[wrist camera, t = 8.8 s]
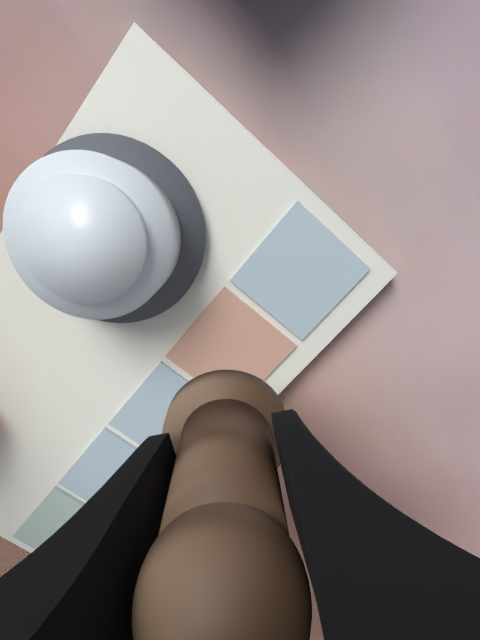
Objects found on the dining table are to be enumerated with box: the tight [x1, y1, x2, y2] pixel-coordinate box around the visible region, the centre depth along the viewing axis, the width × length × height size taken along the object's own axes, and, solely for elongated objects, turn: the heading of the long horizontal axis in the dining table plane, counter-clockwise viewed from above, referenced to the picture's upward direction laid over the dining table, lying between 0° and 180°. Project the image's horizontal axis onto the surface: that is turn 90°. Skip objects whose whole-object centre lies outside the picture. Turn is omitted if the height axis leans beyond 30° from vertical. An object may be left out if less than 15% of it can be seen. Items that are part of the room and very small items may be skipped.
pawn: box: [132, 370, 312, 640], centre depth 8 cm, size 4×4×7 cm
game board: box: [0, 22, 397, 553], centre depth 18 cm, size 15×26×2 cm, turn 140°
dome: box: [3, 150, 181, 320], centre depth 14 cm, size 6×6×3 cm
